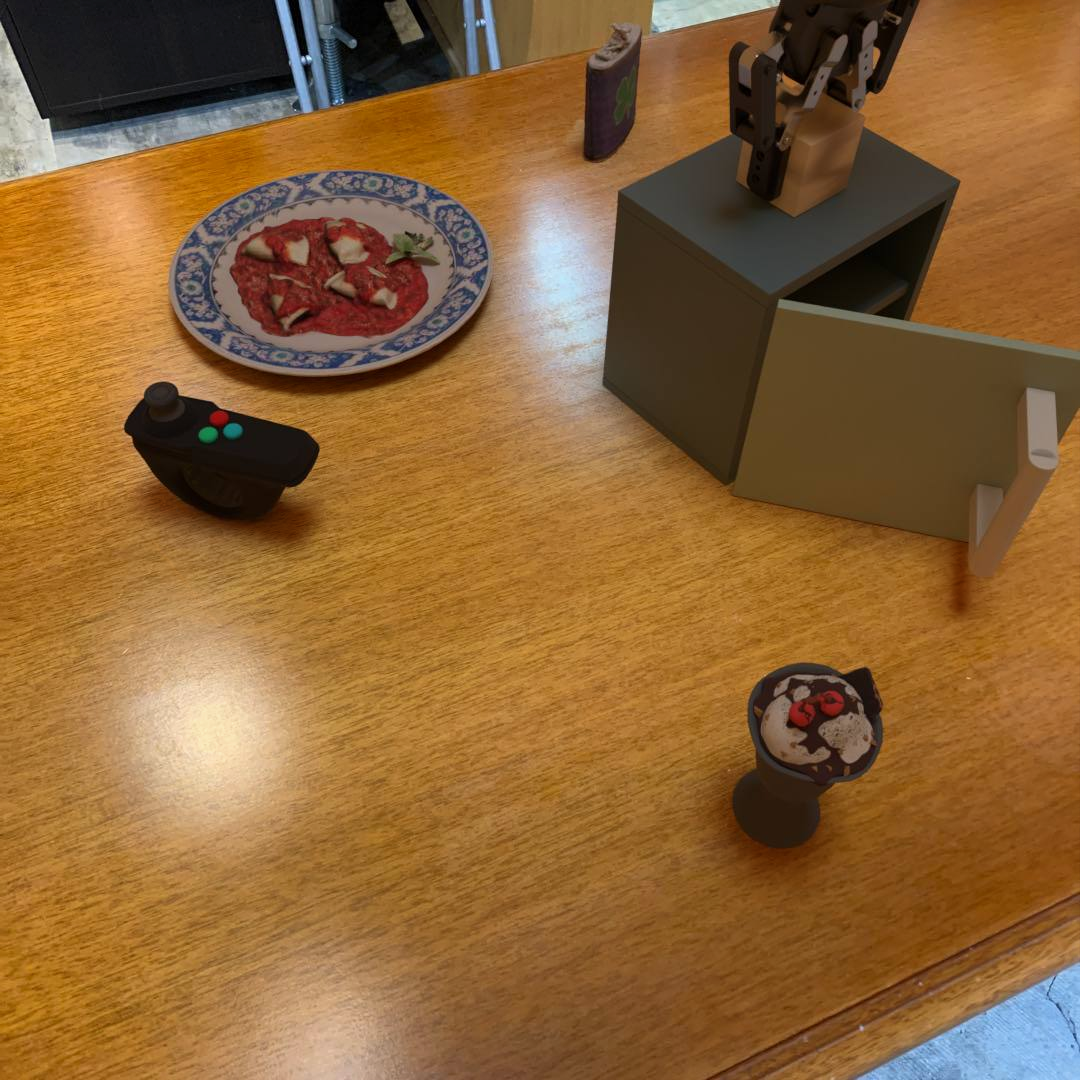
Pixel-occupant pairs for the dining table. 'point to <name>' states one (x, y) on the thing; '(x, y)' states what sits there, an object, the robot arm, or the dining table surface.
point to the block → (814, 154)
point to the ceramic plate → (330, 273)
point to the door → (907, 425)
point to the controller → (218, 453)
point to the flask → (611, 92)
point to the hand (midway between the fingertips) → (793, 176)
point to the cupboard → (752, 280)
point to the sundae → (805, 747)
